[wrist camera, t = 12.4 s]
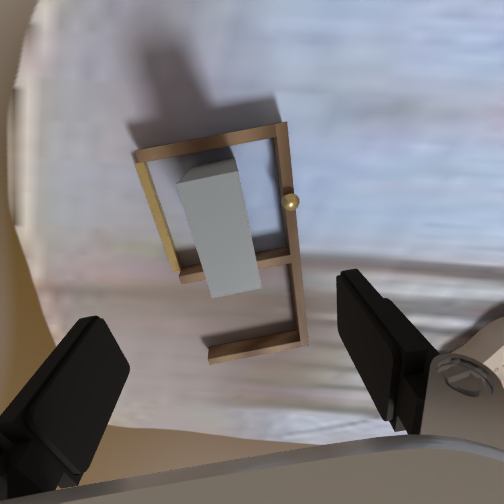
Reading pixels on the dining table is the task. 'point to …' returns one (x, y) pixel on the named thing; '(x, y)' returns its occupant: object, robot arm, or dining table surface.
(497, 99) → the dining table surface
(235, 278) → the pale gray rectangular prism
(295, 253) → the frame
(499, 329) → the decorative plaque
